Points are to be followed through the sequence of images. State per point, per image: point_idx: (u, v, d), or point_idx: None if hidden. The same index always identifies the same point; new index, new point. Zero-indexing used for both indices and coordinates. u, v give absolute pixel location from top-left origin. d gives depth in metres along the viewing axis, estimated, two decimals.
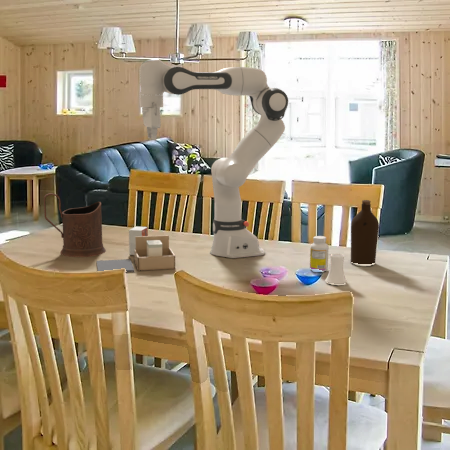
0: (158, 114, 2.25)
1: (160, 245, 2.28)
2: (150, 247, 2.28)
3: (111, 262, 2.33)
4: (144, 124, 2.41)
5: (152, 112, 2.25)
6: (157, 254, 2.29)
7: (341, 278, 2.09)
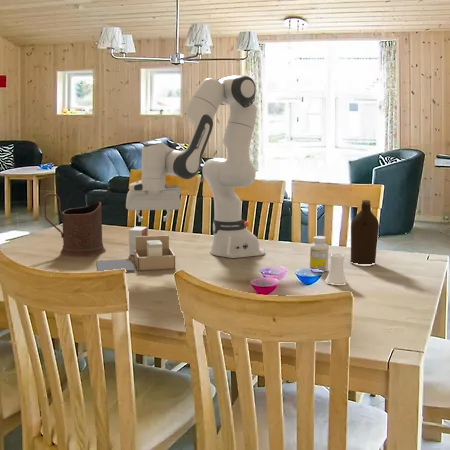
0: None
1: (160, 245, 2.28)
2: (150, 247, 2.28)
3: (111, 262, 2.33)
4: (133, 208, 2.25)
5: (178, 194, 2.28)
6: (157, 254, 2.29)
7: (341, 278, 2.09)
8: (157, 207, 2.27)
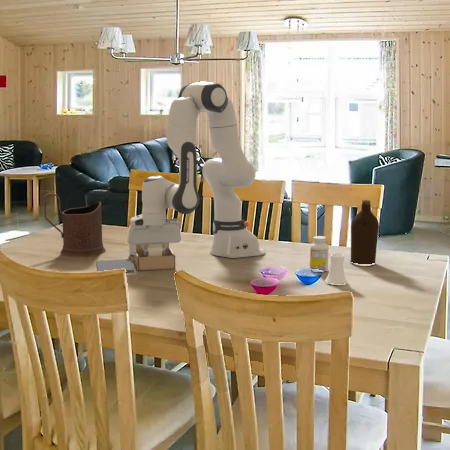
0: None
1: (160, 245, 2.28)
2: (150, 247, 2.27)
3: (111, 262, 2.33)
4: (134, 243, 2.28)
5: (179, 227, 2.31)
6: (157, 254, 2.29)
7: (341, 278, 2.09)
8: (158, 241, 2.30)
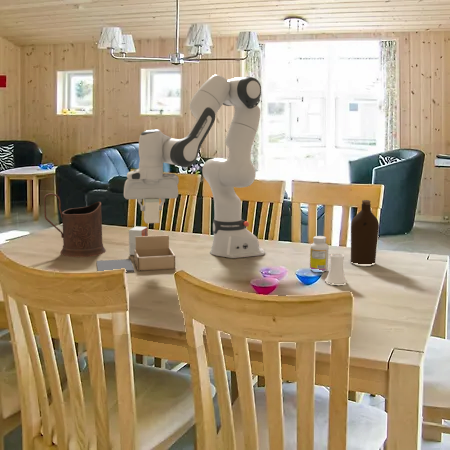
0: None
1: (157, 200, 2.25)
2: (147, 202, 2.24)
3: (111, 262, 2.33)
4: (131, 197, 2.24)
5: (176, 183, 2.27)
6: (154, 209, 2.25)
7: (341, 278, 2.09)
8: (155, 196, 2.26)
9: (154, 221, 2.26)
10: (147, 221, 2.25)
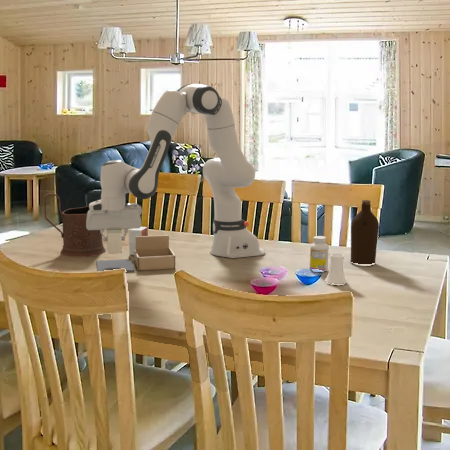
0: None
1: (119, 230, 2.23)
2: (109, 232, 2.23)
3: (111, 262, 2.33)
4: (93, 228, 2.23)
5: (139, 213, 2.26)
6: (116, 240, 2.24)
7: (341, 278, 2.09)
8: (117, 226, 2.25)
9: (116, 252, 2.25)
10: (109, 252, 2.24)
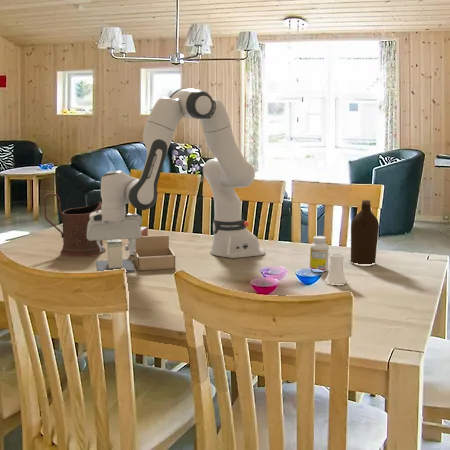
0: None
1: (120, 245, 2.25)
2: (109, 247, 2.24)
3: None
4: (93, 238, 2.24)
5: (139, 223, 2.27)
6: (117, 254, 2.25)
7: (341, 278, 2.09)
8: (118, 236, 2.26)
9: (117, 266, 2.26)
10: (110, 266, 2.25)
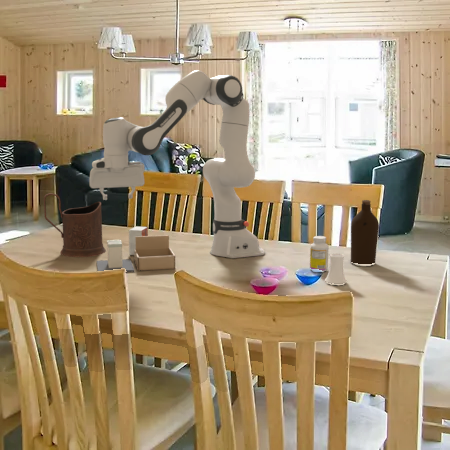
0: None
1: (120, 245, 2.25)
2: (109, 247, 2.24)
3: None
4: (97, 186, 2.23)
5: (142, 170, 2.27)
6: (117, 254, 2.25)
7: (341, 278, 2.09)
8: (121, 184, 2.25)
9: (117, 266, 2.26)
10: (110, 266, 2.25)
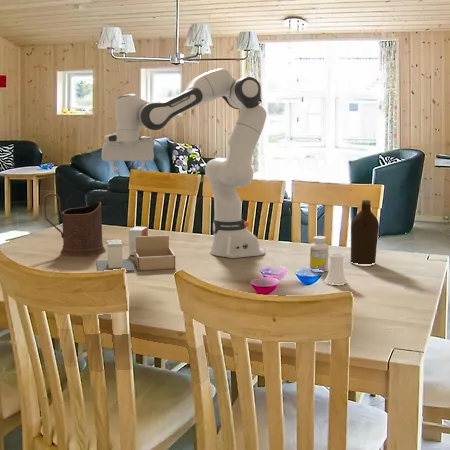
0: None
1: (120, 245, 2.25)
2: (109, 247, 2.24)
3: None
4: (108, 159, 2.34)
5: (152, 145, 2.37)
6: (117, 254, 2.25)
7: (341, 278, 2.09)
8: (131, 158, 2.36)
9: (117, 266, 2.26)
10: (110, 266, 2.25)
